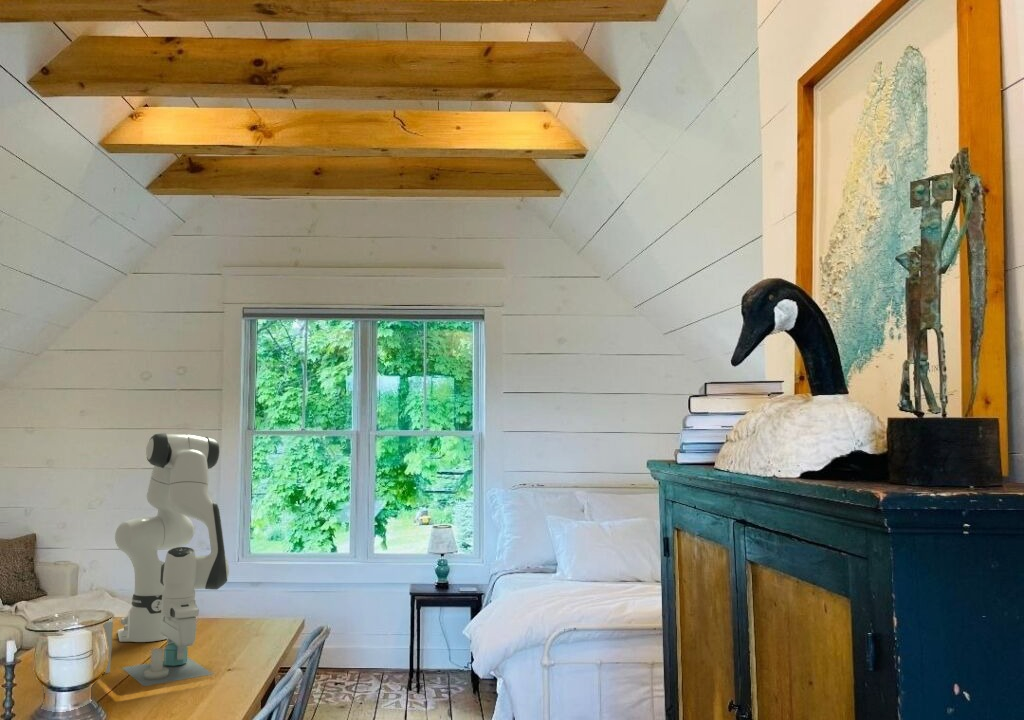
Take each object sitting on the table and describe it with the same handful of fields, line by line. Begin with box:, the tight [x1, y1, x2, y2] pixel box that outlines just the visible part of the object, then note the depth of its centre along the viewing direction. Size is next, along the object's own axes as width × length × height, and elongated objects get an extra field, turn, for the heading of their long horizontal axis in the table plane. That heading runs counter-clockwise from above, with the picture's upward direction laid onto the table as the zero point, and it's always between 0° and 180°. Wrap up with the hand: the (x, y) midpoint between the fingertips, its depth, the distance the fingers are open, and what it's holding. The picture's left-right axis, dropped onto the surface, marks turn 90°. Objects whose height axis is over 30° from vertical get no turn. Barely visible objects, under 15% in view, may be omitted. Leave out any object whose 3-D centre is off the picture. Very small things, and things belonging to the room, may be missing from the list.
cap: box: [163, 643, 189, 666], centre depth 229 cm, size 6×6×5 cm
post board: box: [121, 647, 214, 691], centre depth 222 cm, size 22×18×8 cm
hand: (175, 656), depth 229 cm, fingers closed on cap, 6 cm apart
